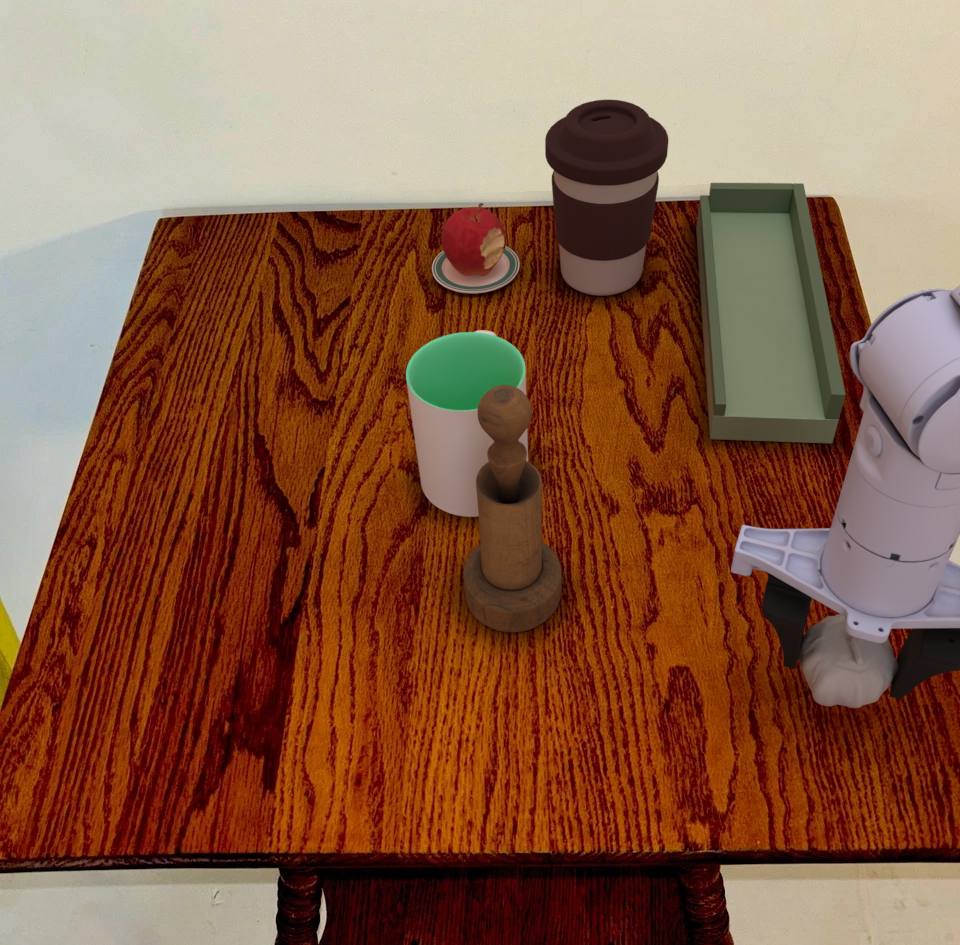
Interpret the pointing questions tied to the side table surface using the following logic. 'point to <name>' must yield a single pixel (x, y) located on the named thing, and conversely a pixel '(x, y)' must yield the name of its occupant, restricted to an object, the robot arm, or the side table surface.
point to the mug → (457, 411)
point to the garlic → (845, 665)
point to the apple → (474, 253)
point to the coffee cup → (604, 192)
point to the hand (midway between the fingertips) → (843, 668)
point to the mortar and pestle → (510, 525)
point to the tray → (765, 317)
